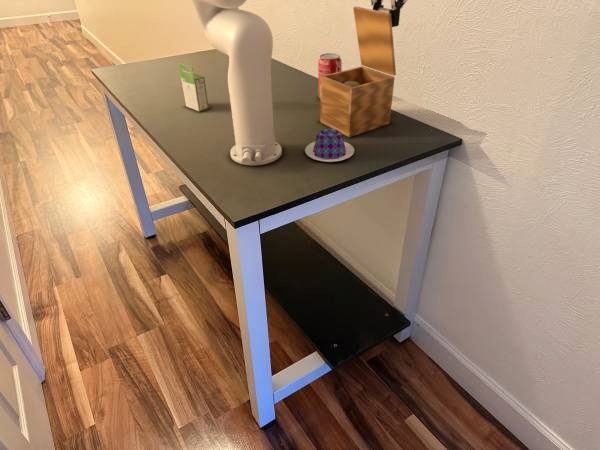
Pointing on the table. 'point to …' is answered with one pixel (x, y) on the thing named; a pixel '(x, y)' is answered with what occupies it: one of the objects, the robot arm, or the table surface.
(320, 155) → the pudding
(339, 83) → the wooden bin
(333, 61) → the soda can
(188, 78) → the ink box
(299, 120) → the table surface
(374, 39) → the bin lid
